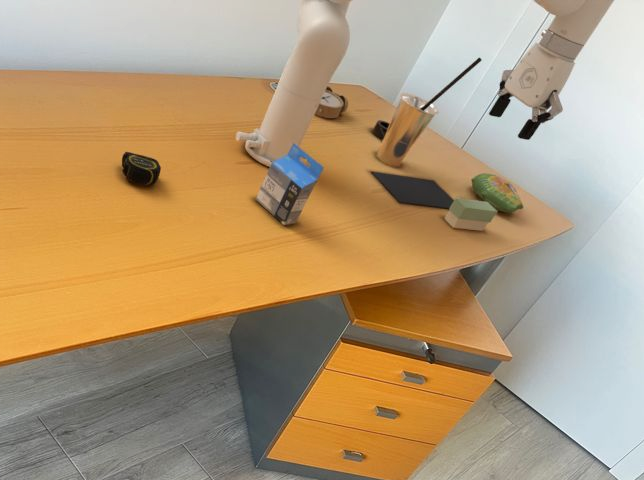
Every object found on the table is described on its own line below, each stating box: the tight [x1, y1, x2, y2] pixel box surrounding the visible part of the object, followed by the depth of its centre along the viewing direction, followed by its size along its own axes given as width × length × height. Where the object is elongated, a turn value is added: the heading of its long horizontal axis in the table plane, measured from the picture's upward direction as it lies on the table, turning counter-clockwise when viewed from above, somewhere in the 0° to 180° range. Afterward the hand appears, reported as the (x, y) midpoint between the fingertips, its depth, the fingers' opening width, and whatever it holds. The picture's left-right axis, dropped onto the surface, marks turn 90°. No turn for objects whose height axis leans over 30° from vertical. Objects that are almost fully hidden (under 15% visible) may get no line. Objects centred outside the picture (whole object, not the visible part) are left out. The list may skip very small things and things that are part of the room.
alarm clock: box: [314, 85, 349, 119], centre depth 189 cm, size 11×5×15 cm
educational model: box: [470, 172, 524, 214], centre depth 176 cm, size 13×16×6 cm
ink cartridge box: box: [255, 143, 325, 226], centre depth 132 cm, size 9×4×12 cm, turn 37°
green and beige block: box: [444, 197, 499, 232], centre depth 159 cm, size 10×4×6 cm, turn 109°
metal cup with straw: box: [376, 57, 483, 168], centre depth 167 cm, size 11×11×30 cm
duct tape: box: [371, 120, 390, 141], centre depth 188 cm, size 8×10×3 cm
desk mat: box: [370, 170, 455, 210], centre depth 167 cm, size 20×13×1 cm, turn 109°
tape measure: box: [121, 151, 162, 186], centre depth 126 cm, size 7×7×4 cm
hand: (508, 126), depth 147 cm, fingers open, 9 cm apart
